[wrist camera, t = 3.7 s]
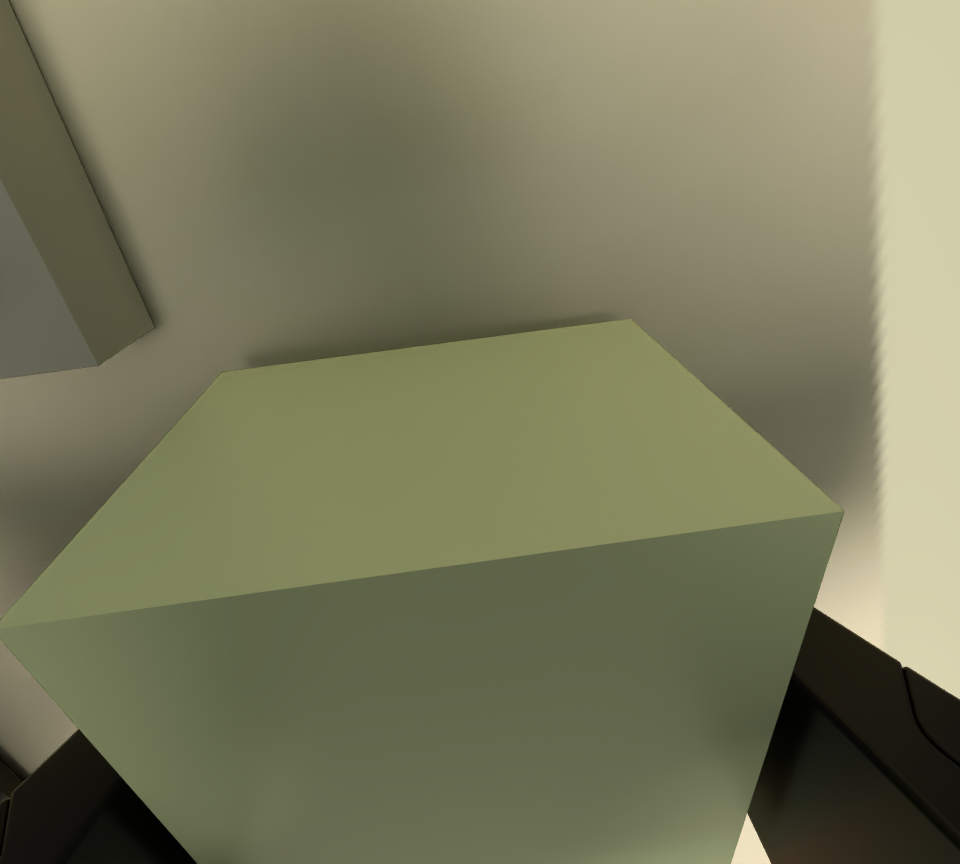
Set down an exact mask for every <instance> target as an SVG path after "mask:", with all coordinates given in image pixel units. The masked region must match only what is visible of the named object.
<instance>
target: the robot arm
mask: <svg viewBox="0 0 960 864" xmlns="http://www.w3.org/2000/svg"><path fill="white" fill-rule="evenodd" d="M747 813H748V815H749V818H750V820H751V822H752V824H753V826H754V828H755V830H756V832H757V834H758V837H759V839H760V841H761V843H762V845H763V847H764V849H765V851H766V853H767V856H768V858H769V860H770V862H771V864H960V699H958V698H957V697H955V696H953V695H952V694H950V693H948V692H946V691H945V690H943V689H942V688H940V687H939V686H937V685H936V684H934V683H932V682H931V681H929V680H928V679H926V678H925V677H923V676H921V675H920V674H918V673H917V672H915V671H913V670H912V669H910V668H908V667H903V668H902V665H901V663H900V662H899V661H897V660H896V659H894V658H893V657H891V656H890V655H888V654H887V653H885V652H883V651H882V650H880V649H879V648H877V647H876V646H874V645H872V644H871V643H869V642H868V641H866V640H865V639H863V638H861V637H860V636H858V635H857V634H855V633H854V632H852V631H850V630H849V629H847V628H846V627H844V626H843V625H841V624H839V623H838V622H836V621H835V620H833V619H832V618H830V617H828V616H827V615H825V614H824V613H822V612H821V611H819V610H817V609H816V608H814V607H813V610H812V613H811V616H810V619H809V622H808V625H807V629H806V632H805V635H804V638H803V641H802V644H801V647H800V650H799V653H798V656H797V660H796V663H795V666H794V669H793V672H792V675H791V678H790V681H789V684H788V687H787V691H786V694H785V697H784V700H783V703H782V706H781V709H780V712H779V715H778V719H777V722H776V725H775V728H774V731H773V734H772V737H771V740H770V743H769V746H768V750H767V753H766V756H765V759H764V762H763V765H762V768H761V771H760V774H759V777H758V781H757V784H756V787H755V790H754V793H753V796H752V799H751V802H750V805H749V808H748V812H747ZM0 864H197V862H196V861H195V860H194V859H193V858H192V857H191V856H190V854H189V853H188V852H187V851H186V850H185V849H184V848H183V846H182V845H181V844H180V843H179V842H178V841H177V840H176V839H175V837H174V836H173V835H172V834H171V833H170V832H169V831H168V829H167V828H166V827H165V826H164V825H163V824H162V823H161V821H160V820H159V819H158V818H157V817H156V816H155V815H154V814H153V812H152V811H151V810H150V809H149V808H148V807H147V806H146V804H145V803H144V802H143V801H142V800H141V799H140V798H139V796H138V795H137V794H136V793H135V792H134V791H133V790H132V789H131V787H130V786H129V785H128V784H127V783H126V782H125V781H124V779H123V778H122V777H121V776H120V775H119V774H118V773H117V771H116V770H115V769H114V768H113V767H112V766H111V765H110V764H109V762H108V761H107V760H106V759H105V758H104V757H103V756H102V754H101V753H100V752H99V751H98V750H97V749H96V748H95V746H94V745H93V744H92V743H91V742H90V741H89V740H88V739H87V737H86V736H85V735H84V734H83V733H82V732H81V731H80V729H78V730H77V731H76V732H75V733H74V734H73V735H72V736H71V737H70V738H69V739H68V740H67V741H66V742H65V743H63V744H62V745H61V746H60V747H59V748H58V749H57V750H56V751H55V752H54V753H53V754H52V755H51V756H50V757H49V758H48V759H47V760H46V761H44V762H43V763H42V764H41V765H40V766H39V767H38V768H37V769H36V770H35V771H34V772H33V773H32V774H31V775H30V776H29V777H28V778H27V779H25V780H24V781H23V782H22V781H21V780H20V779H19V778H18V777H17V776H16V775H15V774H14V773H13V772H12V771H11V770H9V769H8V768H7V767H6V766H5V765H4V764H3V763H2V762H1V761H0Z"/></svg>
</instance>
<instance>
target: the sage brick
mask: <svg viewBox="0 0 960 864" xmlns="http://www.w3.org/2000/svg"><path fill="white" fill-rule="evenodd" d="M843 514H844V510H843V509H842V508H840V507H839V506H838V505H837V504H836V503H835V502H834V501H833V500H832V499H830V498H829V497H828V496H827V495H826V494H825V493H824V492H823V491H822V490H820V489H819V488H818V487H817V486H816V485H815V484H814V483H813V482H812V481H810V480H809V479H808V478H807V477H806V476H805V475H804V474H803V473H802V472H800V471H799V470H798V469H797V468H796V467H795V466H794V465H793V464H792V463H790V462H789V461H788V460H787V459H786V458H785V457H784V456H783V455H782V454H780V453H779V452H778V451H777V450H776V449H775V448H774V447H773V446H772V445H770V444H769V443H768V442H767V441H766V440H765V439H764V438H763V437H762V436H760V435H759V434H758V433H757V432H756V431H755V430H754V429H753V428H752V427H750V426H749V425H748V424H747V423H746V422H745V421H744V420H743V419H741V418H740V417H739V416H738V415H737V414H736V413H735V412H734V411H733V410H731V409H730V408H729V407H728V406H727V405H726V404H725V403H724V402H723V401H721V400H720V399H719V398H718V397H717V396H716V395H715V394H714V393H713V392H711V391H710V390H709V389H708V388H707V387H706V386H705V385H704V384H703V383H701V382H700V381H699V380H698V379H697V378H696V377H695V376H694V375H693V374H691V373H690V372H689V371H688V370H687V369H686V368H685V367H684V366H683V365H681V364H680V363H679V362H678V361H677V360H676V359H675V358H674V357H673V356H671V355H670V354H669V353H668V352H667V351H666V350H665V349H664V348H663V347H661V346H660V345H659V344H658V343H657V342H656V341H655V340H654V339H653V338H651V337H650V336H649V335H648V334H647V333H646V332H645V331H644V330H643V329H641V328H640V327H639V326H638V325H637V324H636V323H635V322H634V321H633V320H631V319H624V320H617V321H609V322H601V323H594V324H586V325H578V326H571V327H563V328H555V329H548V330H540V331H532V332H525V333H517V334H509V335H502V336H494V337H487V338H479V339H471V340H464V341H456V342H448V343H441V344H433V345H425V346H418V347H410V348H402V349H395V350H387V351H379V352H372V353H364V354H356V355H349V356H341V357H334V358H326V359H318V360H311V361H303V362H295V363H288V364H280V365H272V366H265V367H257V368H249V369H242V370H234V371H226V372H222V373H221V374H220V375H219V376H218V378H217V379H216V380H215V381H214V382H213V383H212V384H211V385H210V386H209V388H208V389H207V390H206V391H205V392H204V393H203V394H202V395H201V397H200V398H199V399H198V400H197V401H196V402H195V403H194V404H193V405H192V407H191V408H190V409H189V410H188V411H187V412H186V413H185V414H184V415H183V417H182V418H181V419H180V420H179V421H178V422H177V423H176V424H175V426H174V427H173V428H172V429H171V430H170V431H169V432H168V433H167V434H166V436H165V437H164V438H163V439H162V440H161V441H160V442H159V443H158V445H157V446H156V447H155V448H154V449H153V450H152V451H151V452H150V453H149V455H148V456H147V457H146V458H145V459H144V460H143V461H142V462H141V463H140V465H139V466H138V467H137V468H136V469H135V470H134V471H133V472H132V474H131V475H130V476H129V477H128V478H127V479H126V480H125V481H124V482H123V484H122V485H121V486H120V487H119V488H118V489H117V490H116V491H115V493H114V494H113V495H112V496H111V497H110V498H109V499H108V500H107V501H106V503H105V504H104V505H103V506H102V507H101V508H100V509H99V510H98V511H97V513H96V514H95V515H94V516H93V517H92V518H91V519H90V520H89V522H88V523H87V524H86V525H85V526H84V527H83V528H82V529H81V530H80V532H79V533H78V534H77V535H76V536H75V537H74V538H73V539H72V541H71V542H70V543H69V544H68V545H67V546H66V547H65V548H64V549H63V551H62V552H61V553H60V554H59V555H58V556H57V557H56V558H55V559H54V561H53V562H52V563H51V564H50V565H49V566H48V567H47V568H46V570H45V571H44V572H43V573H42V574H41V575H40V576H39V577H38V578H37V580H36V581H35V582H34V583H33V584H32V585H31V586H30V587H29V589H28V590H27V591H26V592H25V593H24V594H23V595H22V596H21V597H20V599H19V600H18V601H17V602H16V603H15V604H14V605H13V606H12V607H11V609H10V610H9V611H8V612H7V613H6V614H5V615H4V616H3V618H2V619H1V620H0V640H1V641H2V642H3V643H4V644H5V645H6V646H7V648H8V649H9V650H10V651H11V652H12V653H13V654H14V656H15V657H16V658H17V659H18V660H19V661H20V662H21V664H22V665H23V666H24V667H25V668H26V669H27V670H28V671H29V673H30V674H31V675H32V676H33V677H34V678H35V679H36V681H37V682H38V683H39V684H40V685H41V686H42V687H43V689H44V690H45V691H46V692H47V693H48V694H49V695H50V696H51V698H52V699H53V700H54V701H55V702H56V703H57V704H58V706H59V707H60V708H61V709H62V710H63V711H64V712H65V714H66V715H67V716H68V717H69V718H70V719H71V720H72V721H73V723H74V724H75V725H76V726H77V727H78V728H79V729H80V731H81V732H82V733H83V734H84V735H85V736H86V737H87V739H88V740H89V741H90V742H91V743H92V744H93V745H94V746H95V748H96V749H97V750H98V751H99V752H100V753H101V754H102V756H103V757H104V758H105V759H106V760H107V761H108V762H109V764H110V765H111V766H112V767H113V768H114V769H115V770H116V771H117V773H118V774H119V775H120V776H121V777H122V778H123V779H124V781H125V782H126V783H127V784H128V785H129V786H130V787H131V789H132V790H133V791H134V792H135V793H136V794H137V795H138V796H139V798H140V799H141V800H142V801H143V802H144V803H145V804H146V806H147V807H148V808H149V809H150V810H151V811H152V812H153V814H154V815H155V816H156V817H157V818H158V819H159V820H160V821H161V823H162V824H163V825H164V826H165V827H166V828H167V829H168V831H169V832H170V833H171V834H172V835H173V836H174V837H175V839H176V840H177V841H178V842H179V843H180V844H181V845H182V846H183V848H184V849H185V850H186V851H187V852H188V853H189V854H190V856H191V857H192V858H193V859H194V860H195V861H196V862H197V864H731V861H732V858H733V855H734V852H735V849H736V846H737V843H738V839H739V836H740V833H741V830H742V827H743V824H744V821H745V818H746V815H747V812H748V808H749V805H750V802H751V799H752V796H753V793H754V790H755V787H756V784H757V781H758V777H759V774H760V771H761V768H762V765H763V762H764V759H765V756H766V753H767V750H768V746H769V743H770V740H771V737H772V734H773V731H774V728H775V725H776V722H777V719H778V715H779V712H780V709H781V706H782V703H783V700H784V697H785V694H786V691H787V687H788V684H789V681H790V678H791V675H792V672H793V669H794V666H795V663H796V660H797V656H798V653H799V650H800V647H801V644H802V641H803V638H804V635H805V632H806V629H807V625H808V622H809V619H810V616H811V613H812V610H813V607H814V604H815V601H816V598H817V594H818V591H819V588H820V585H821V582H822V579H823V576H824V573H825V570H826V567H827V563H828V560H829V557H830V554H831V551H832V548H833V545H834V542H835V539H836V536H837V532H838V529H839V526H840V523H841V520H842V517H843Z"/></svg>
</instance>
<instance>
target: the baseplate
mask: <svg viewBox="0 0 960 864" xmlns="http://www.w3.org/2000/svg"><path fill="white" fill-rule="evenodd" d="M153 328H155V327H154V325H153V323H152V321H151V318H150V316H149V314H148V312H147V309H146V307H145V305H144V303H143V300H142V298H141V296H140V294H139V291H138V289H137V287H136V285H135V283H134V280H133V278H132V276H131V274H130V271H129V269H128V267H127V265H126V262H125V260H124V258H123V256H122V253H121V251H120V249H119V247H118V244H117V242H116V240H115V238H114V236H113V233H112V231H111V229H110V227H109V224H108V222H107V220H106V218H105V215H104V213H103V211H102V209H101V206H100V204H99V202H98V200H97V197H96V195H95V193H94V191H93V189H92V186H91V184H90V182H89V180H88V177H87V175H86V173H85V171H84V168H83V166H82V164H81V162H80V159H79V157H78V155H77V153H76V150H75V148H74V146H73V144H72V142H71V139H70V137H69V135H68V133H67V130H66V128H65V126H64V124H63V121H62V119H61V117H60V115H59V112H58V110H57V108H56V106H55V103H54V101H53V99H52V97H51V95H50V92H49V90H48V88H47V86H46V83H45V81H44V79H43V77H42V74H41V72H40V70H39V68H38V65H37V63H36V61H35V59H34V56H33V54H32V52H31V50H30V48H29V45H28V43H27V41H26V39H25V36H24V34H23V32H22V30H21V27H20V25H19V23H18V21H17V18H16V16H15V14H14V12H13V9H12V7H11V5H10V3H9V1H8V0H0V379H3V378H11V377H18V376H26V375H33V374H41V373H48V372H56V371H63V370H71V369H78V368H86V367H93V366H99V365H100V364H102V363H103V362H105V361H106V360H108V359H109V358H111V357H112V356H114V355H115V354H116V353H118V352H119V351H121V350H122V349H124V348H125V347H127V346H128V345H130V344H131V343H133V342H134V341H136V340H137V339H139V338H140V337H141V336H143V335H144V334H146V333H147V332H149V331H150V330H152V329H153Z"/></svg>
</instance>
